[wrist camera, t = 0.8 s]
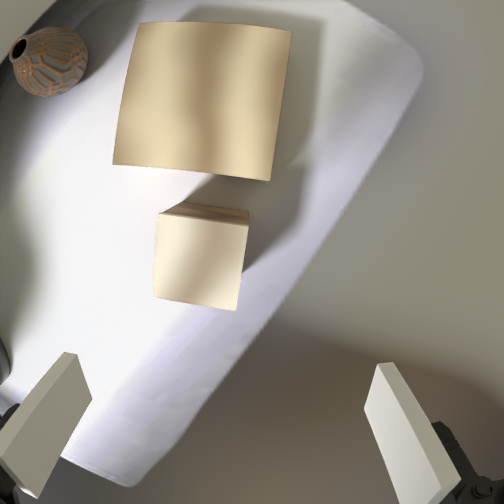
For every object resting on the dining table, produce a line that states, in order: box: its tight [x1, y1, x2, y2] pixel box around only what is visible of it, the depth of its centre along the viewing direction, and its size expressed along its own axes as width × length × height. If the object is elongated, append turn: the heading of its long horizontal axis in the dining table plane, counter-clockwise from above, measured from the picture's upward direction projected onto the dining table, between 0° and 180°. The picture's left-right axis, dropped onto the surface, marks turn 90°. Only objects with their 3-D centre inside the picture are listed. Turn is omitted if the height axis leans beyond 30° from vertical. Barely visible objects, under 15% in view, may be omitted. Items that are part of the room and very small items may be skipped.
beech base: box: [112, 22, 292, 181], centre depth 22 cm, size 12×12×5 cm
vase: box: [9, 27, 88, 97], centre depth 18 cm, size 7×7×9 cm
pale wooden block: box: [153, 202, 249, 311], centre depth 24 cm, size 6×6×7 cm
